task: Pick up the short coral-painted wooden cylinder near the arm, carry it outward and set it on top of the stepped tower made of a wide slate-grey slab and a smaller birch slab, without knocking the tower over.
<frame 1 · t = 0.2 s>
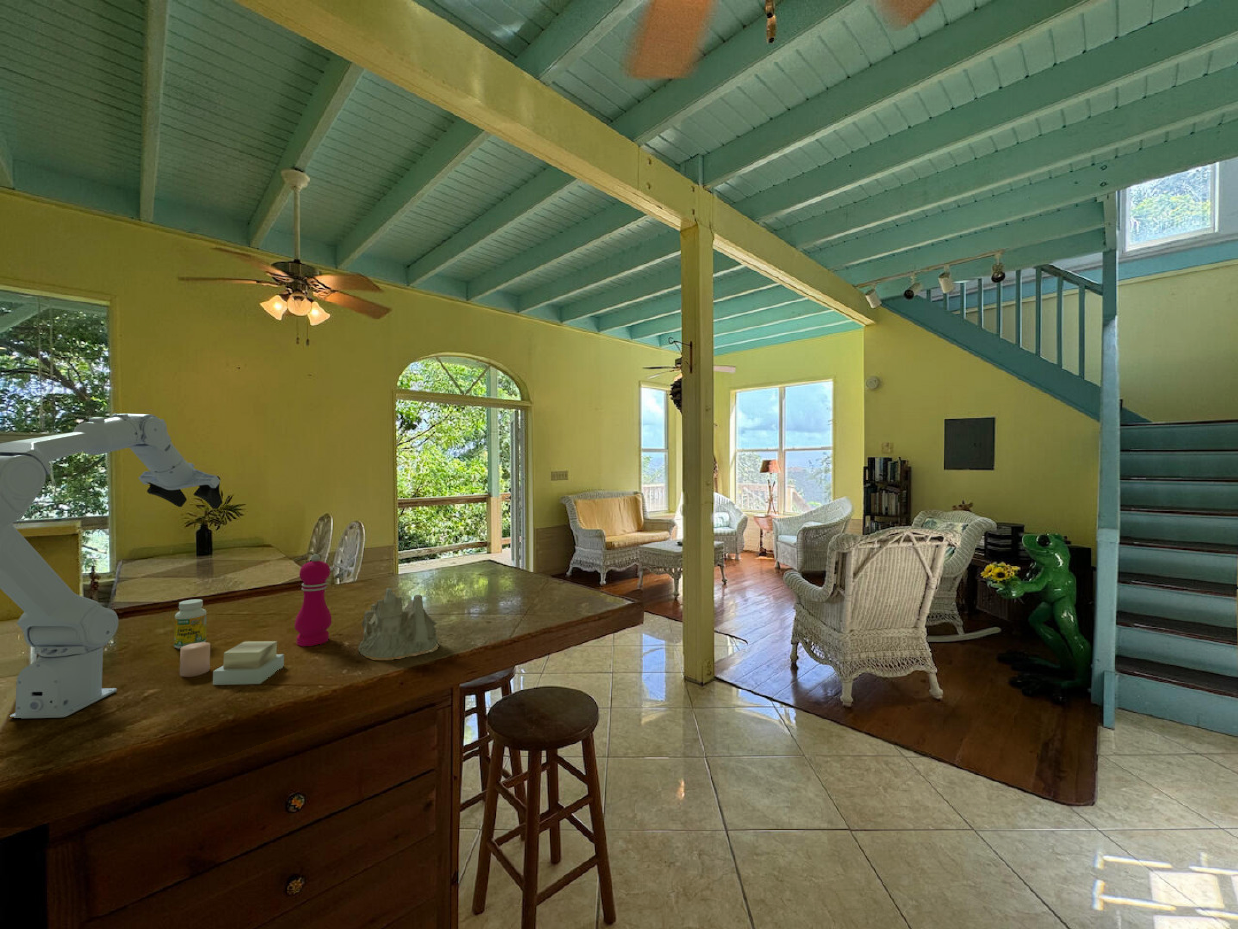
hand: (200, 504, 111), 31 cm above the worktop, tool tilted 45°, fingers open, 7 cm apart
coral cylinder: (194, 672, 96), on the worktop
grey base slab: (249, 678, 96), on the worktop, touching birch top slab
grey rock mountain model: (398, 648, 112), on the worktop
pepper mill: (312, 642, 114), on the worktop
birch top slab: (250, 662, 96), point 2 cm above the worktop, touching grey base slab
supplement bottle: (189, 645, 110), on the worktop
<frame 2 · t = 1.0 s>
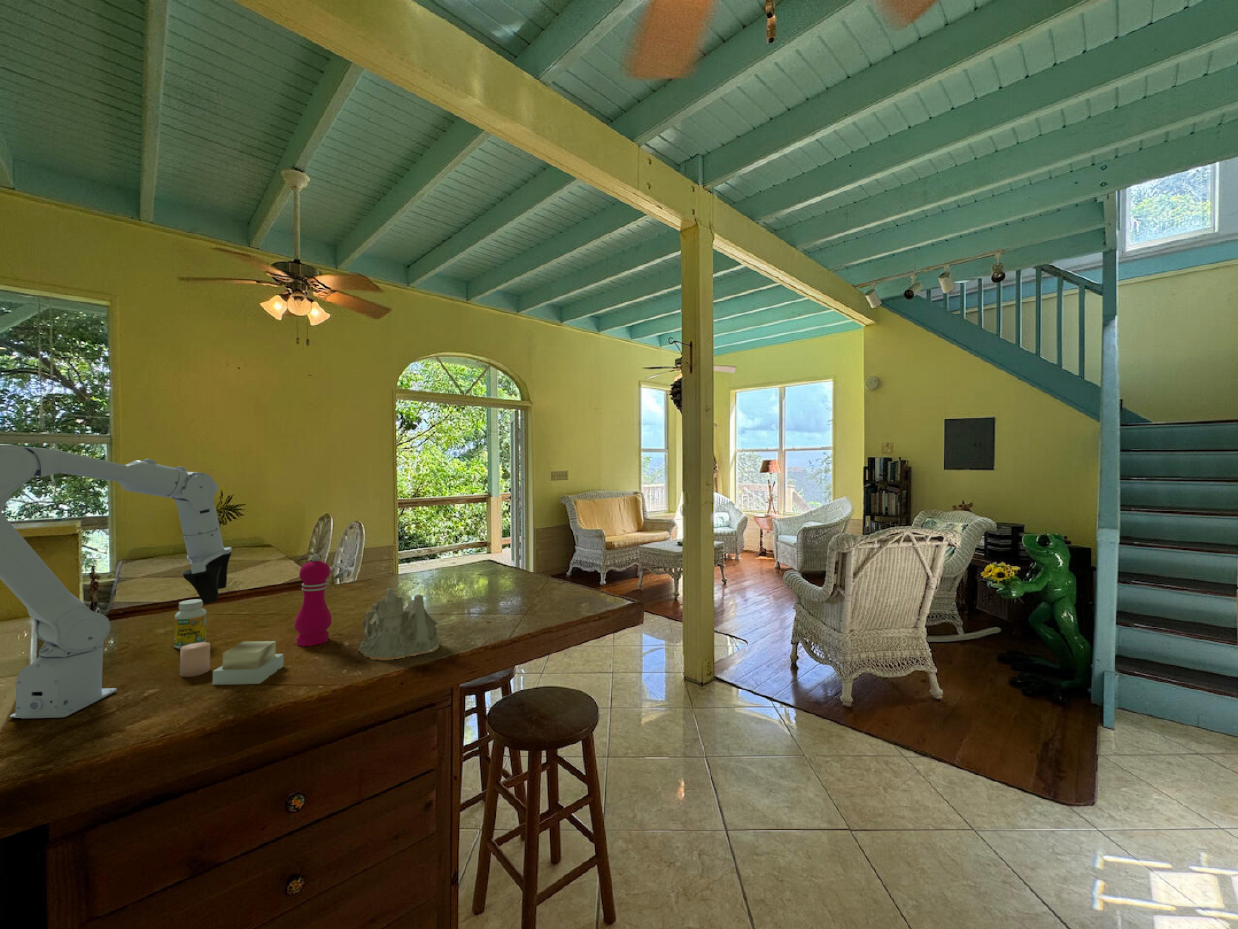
hand: (215, 595, 102), 13 cm above the worktop, tool pointing down, fingers open, 7 cm apart
nothing on the worktop moved.
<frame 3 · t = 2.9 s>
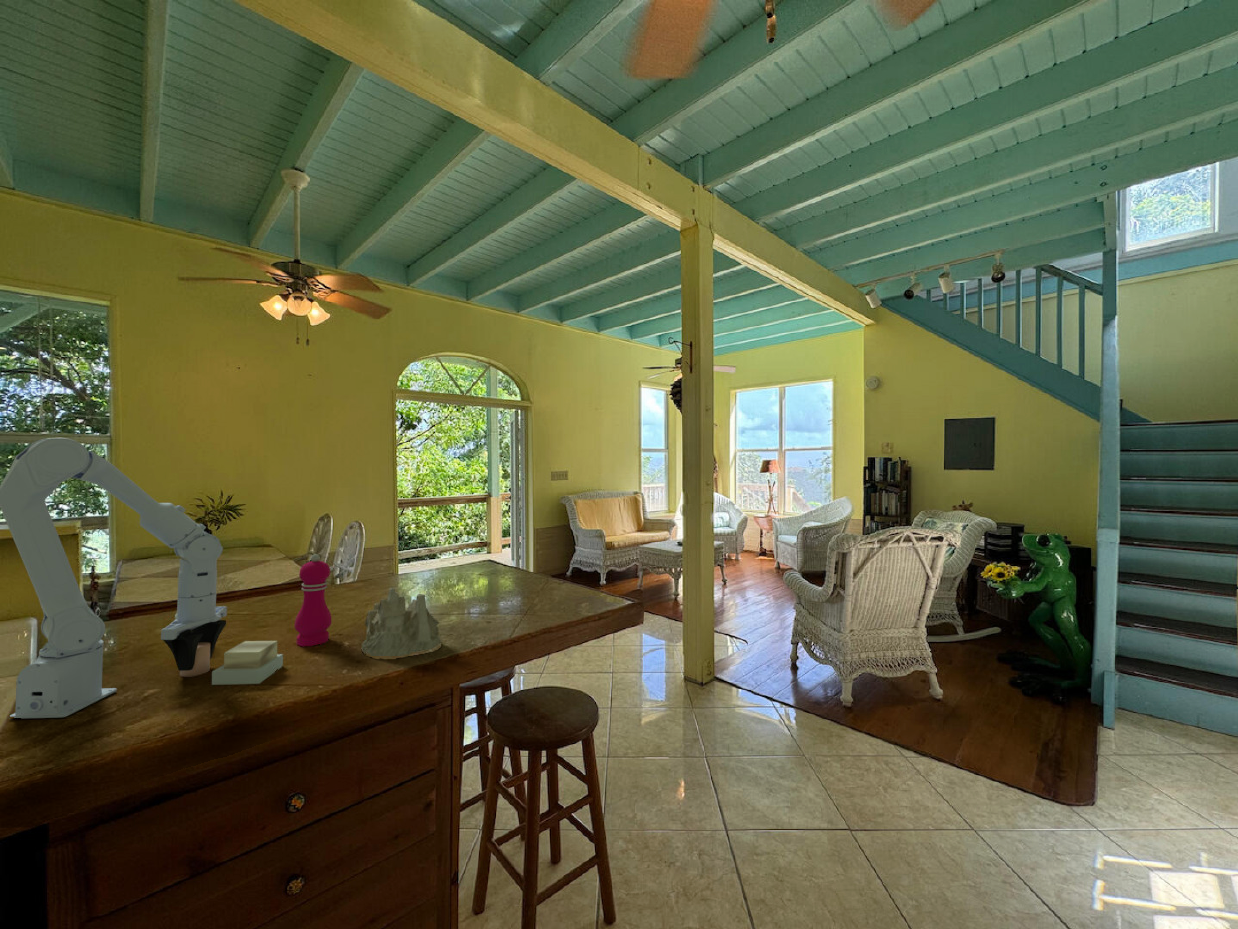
hand: (195, 664, 96), 1 cm above the worktop, tool pointing down, fingers closed on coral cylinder, 4 cm apart
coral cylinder: (194, 672, 96), on the worktop, touching gripper
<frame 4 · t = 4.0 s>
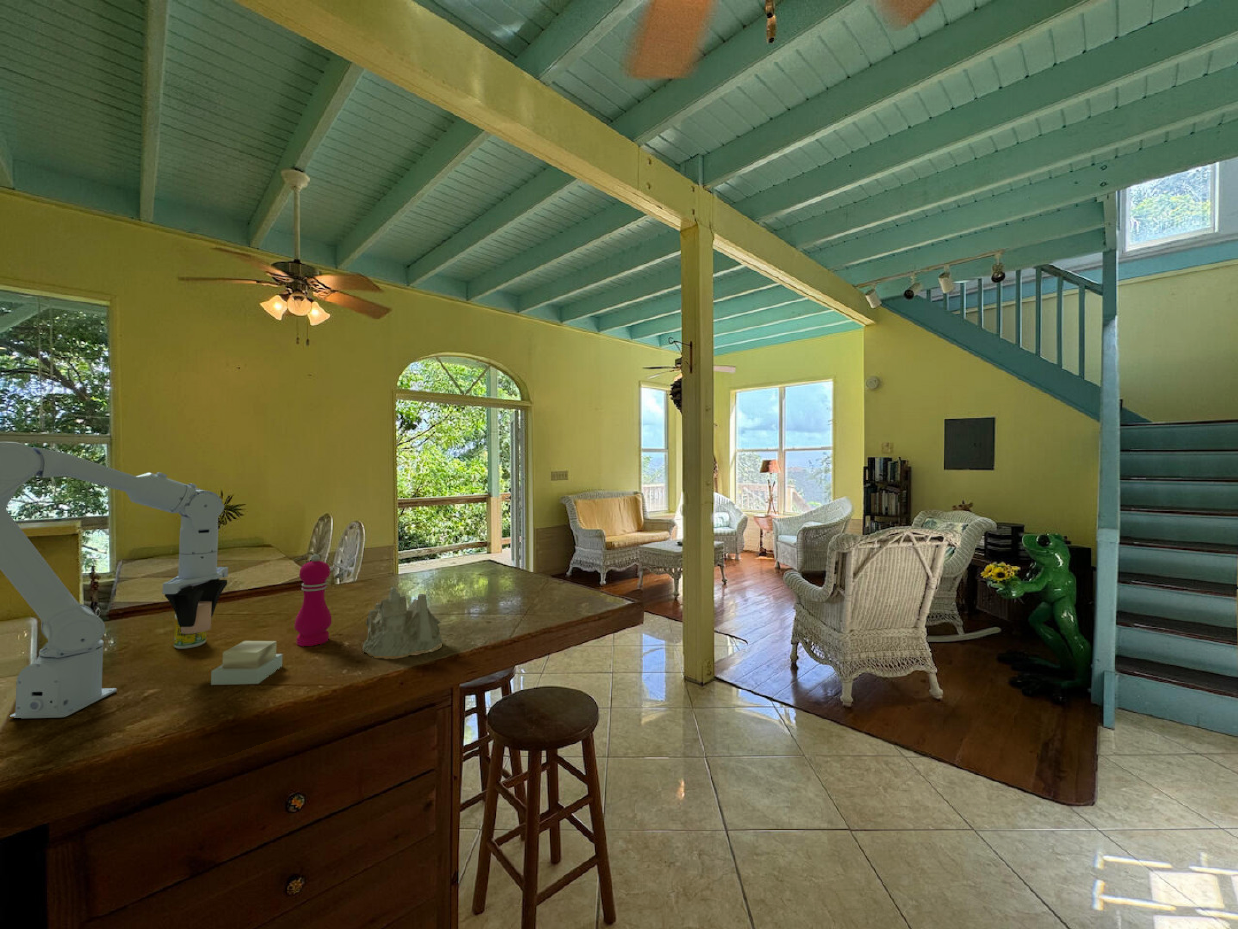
hand: (196, 622, 97), 10 cm above the worktop, tool pointing down, fingers closed on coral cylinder, 4 cm apart
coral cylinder: (196, 629, 97), point 8 cm above the worktop, touching gripper
everything else where it was.
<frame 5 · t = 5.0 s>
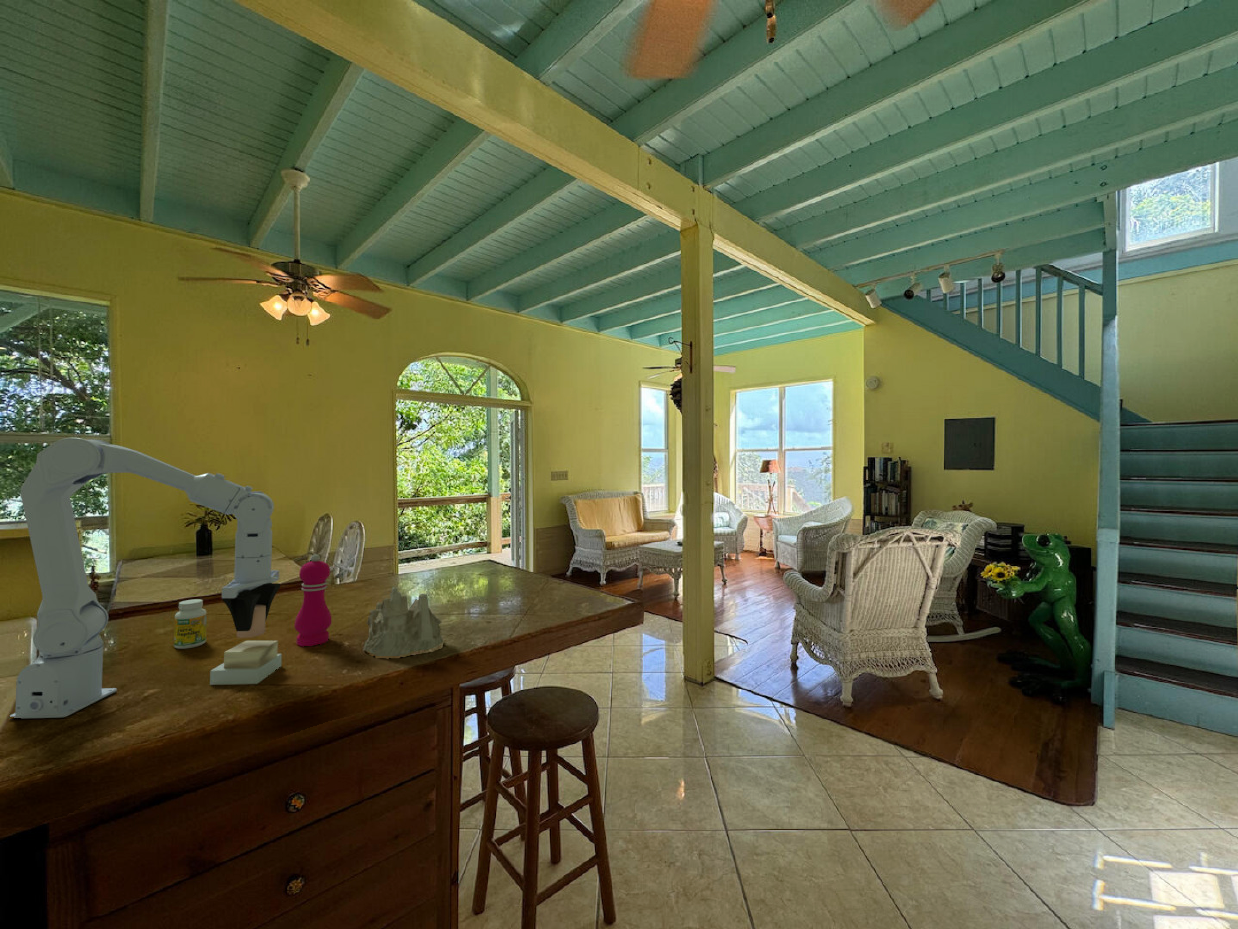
hand: (251, 626, 96), 9 cm above the worktop, tool pointing down, fingers closed on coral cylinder, 4 cm apart
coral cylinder: (251, 633, 96), point 8 cm above the worktop, touching gripper
when the fingers open (8 cm above the worktop, at t = 6.0 s): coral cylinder drops 1 cm, resting on birch top slab.
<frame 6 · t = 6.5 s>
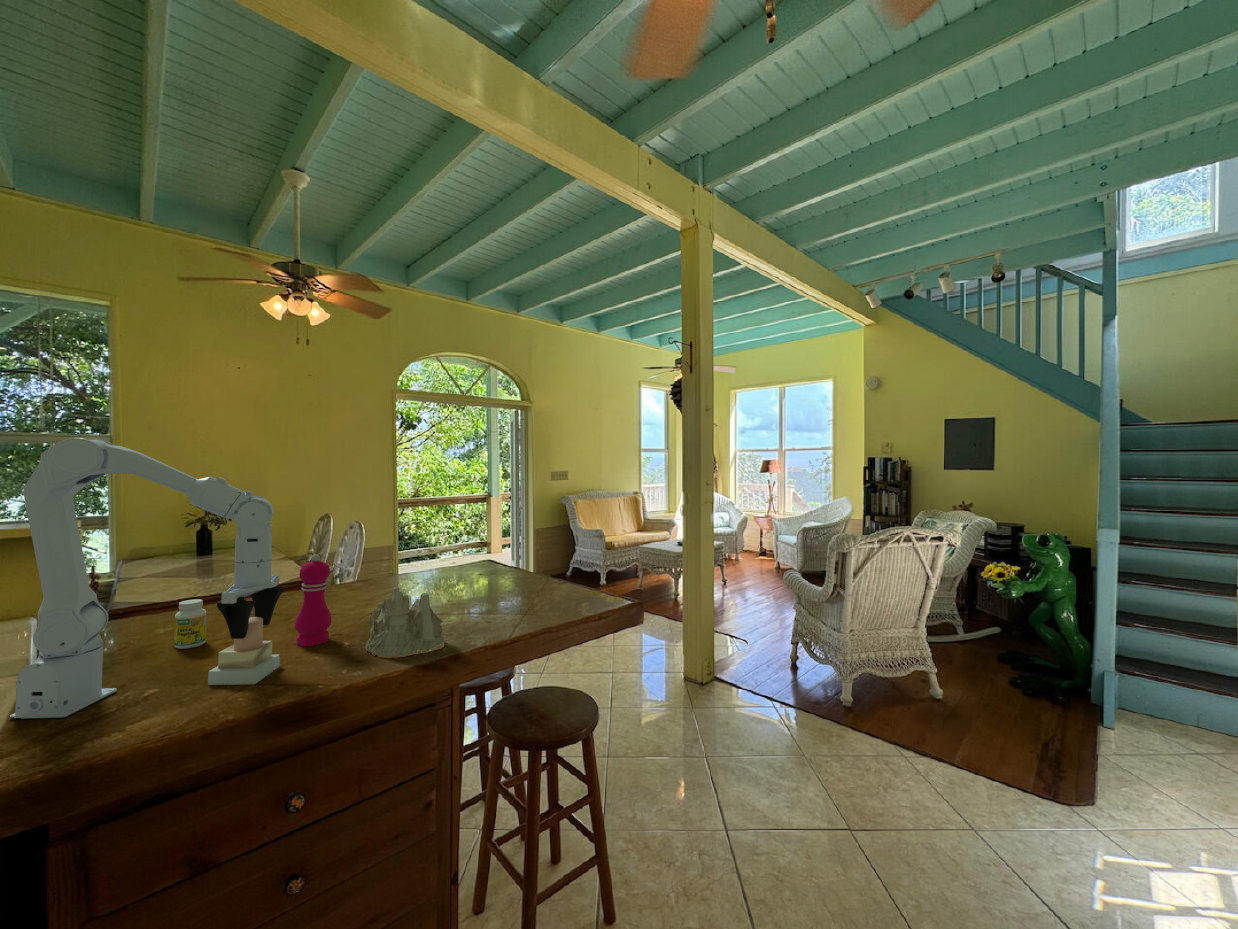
hand: (251, 631, 96), 8 cm above the worktop, tool pointing down, fingers open, 7 cm apart
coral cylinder: (248, 646, 95), point 6 cm above the worktop, touching birch top slab
birch top slab: (245, 662, 96), point 2 cm above the worktop, touching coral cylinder, grey base slab
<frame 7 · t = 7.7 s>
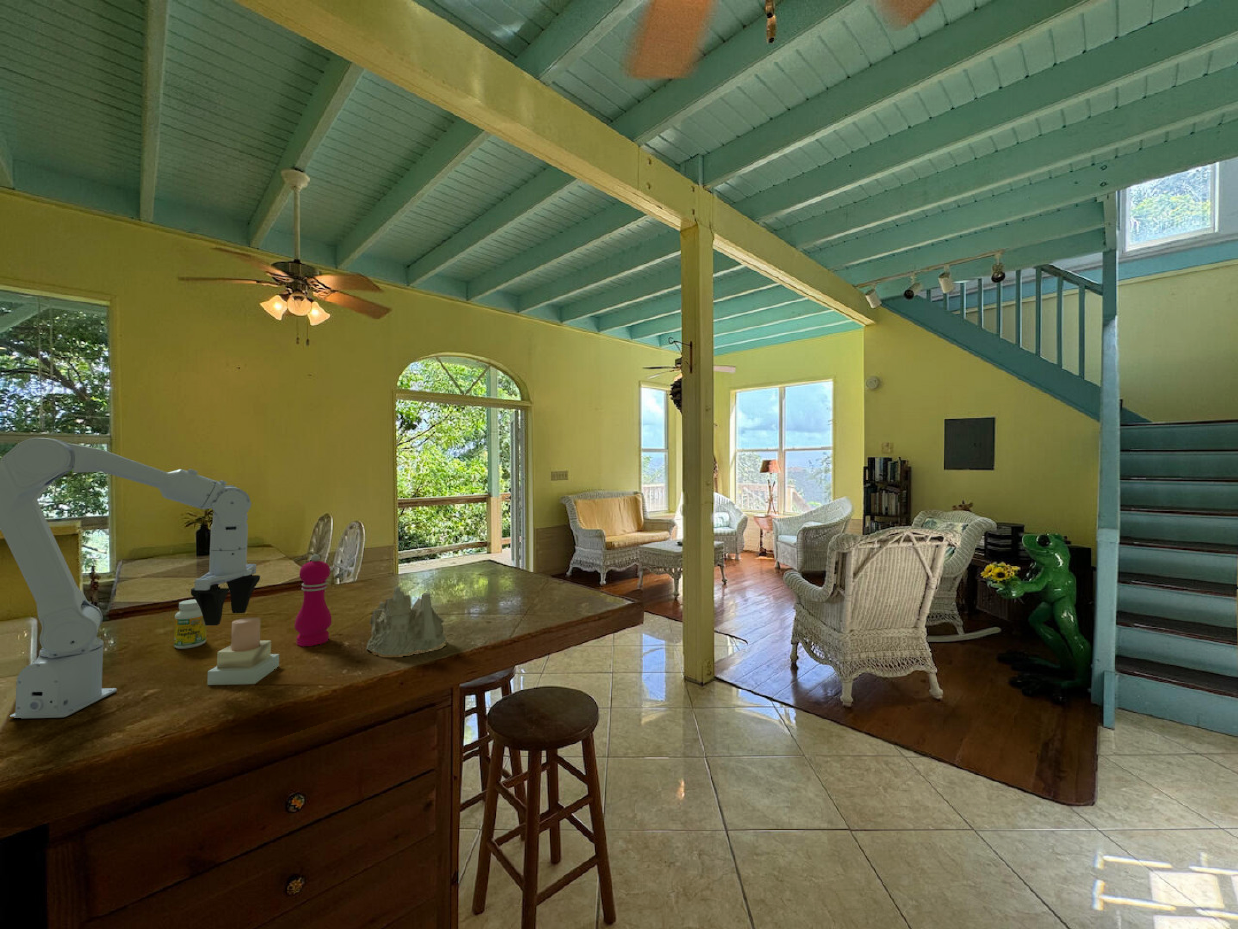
hand: (226, 618, 97), 10 cm above the worktop, tool pointing down, fingers open, 7 cm apart
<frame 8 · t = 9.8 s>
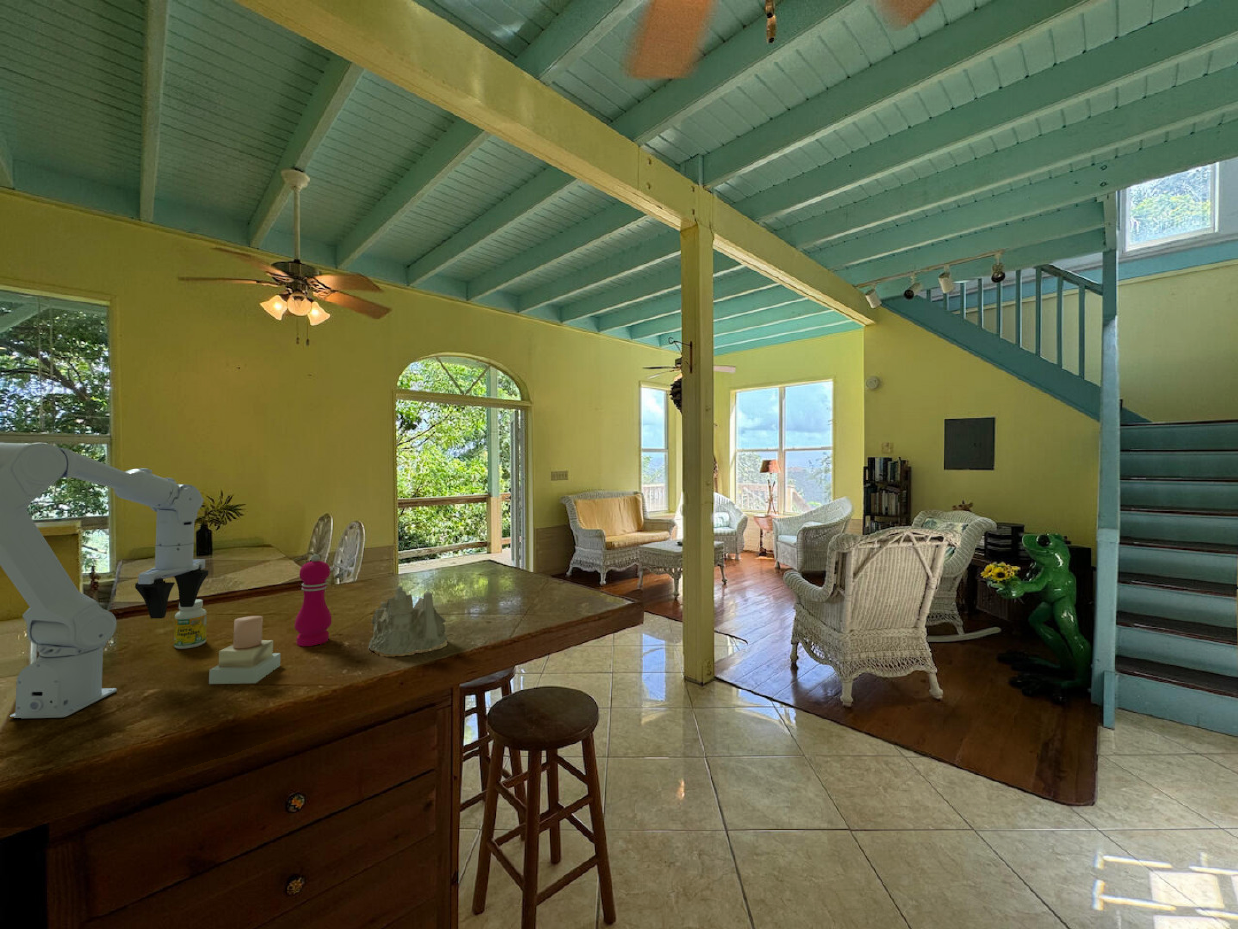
hand: (172, 612, 100), 10 cm above the worktop, tool pointing down, fingers open, 7 cm apart
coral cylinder: (247, 645, 96), point 6 cm above the worktop
birch top slab: (246, 661, 96), point 3 cm above the worktop, touching grey base slab
at the end: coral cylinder 0.5 cm off-centre on the grey base slab, point 6.2 cm above the grey base slab's base; birch top slab 0.1 cm off-centre on the grey base slab, point 3.0 cm above the grey base slab's base; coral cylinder tilted 7° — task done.
